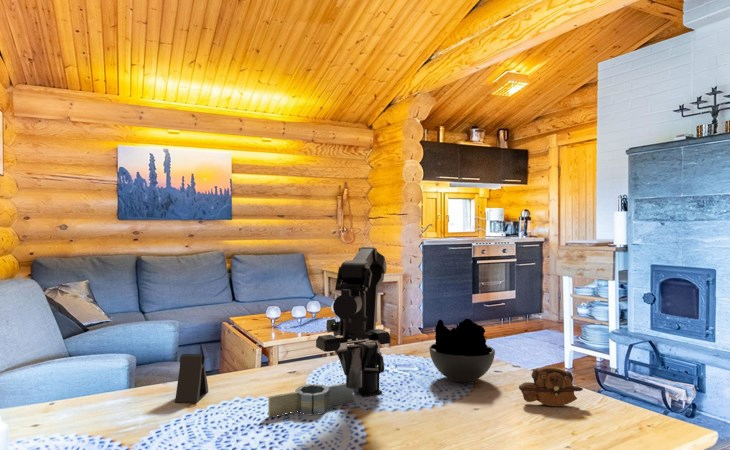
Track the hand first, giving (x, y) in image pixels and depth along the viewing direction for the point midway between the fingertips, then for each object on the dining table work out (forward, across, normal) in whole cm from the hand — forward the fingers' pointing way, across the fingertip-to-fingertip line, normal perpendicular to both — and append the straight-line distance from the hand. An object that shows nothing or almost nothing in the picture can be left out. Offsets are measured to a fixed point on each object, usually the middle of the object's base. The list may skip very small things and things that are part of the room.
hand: (353, 374), depth 123 cm
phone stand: (+11, +33, -34) cm, 49 cm away
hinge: (+11, +7, -10) cm, 16 cm away
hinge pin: (+3, 0, 0) cm, 3 cm away
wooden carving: (+11, -50, +19) cm, 55 cm away
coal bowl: (+11, -43, -9) cm, 45 cm away
